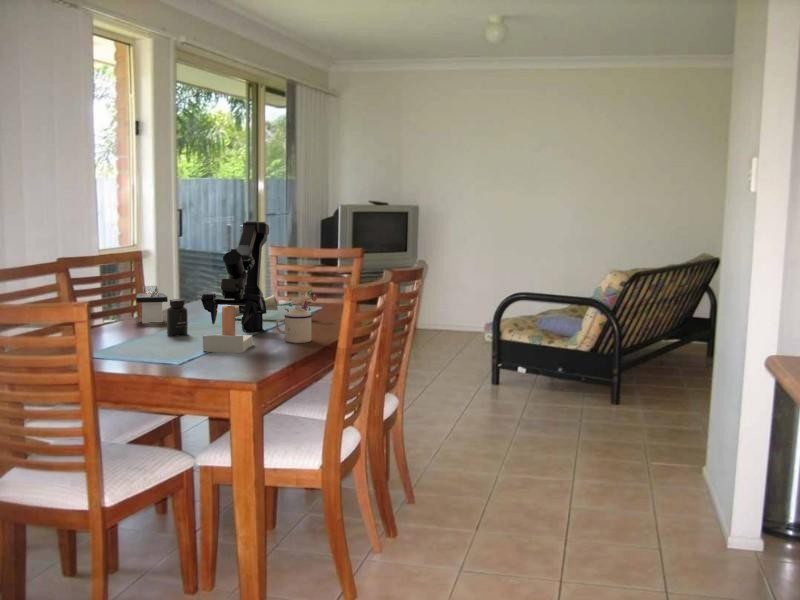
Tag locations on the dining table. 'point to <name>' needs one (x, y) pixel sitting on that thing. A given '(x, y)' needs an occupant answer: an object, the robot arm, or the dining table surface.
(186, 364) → the dining table surface
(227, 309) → the peg
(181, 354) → the dining table surface
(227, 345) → the socket block
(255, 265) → the robot arm
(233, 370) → the dining table surface
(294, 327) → the teacup with lid
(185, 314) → the supplement bottle
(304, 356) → the dining table surface
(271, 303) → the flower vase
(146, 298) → the black-topped pedestal
